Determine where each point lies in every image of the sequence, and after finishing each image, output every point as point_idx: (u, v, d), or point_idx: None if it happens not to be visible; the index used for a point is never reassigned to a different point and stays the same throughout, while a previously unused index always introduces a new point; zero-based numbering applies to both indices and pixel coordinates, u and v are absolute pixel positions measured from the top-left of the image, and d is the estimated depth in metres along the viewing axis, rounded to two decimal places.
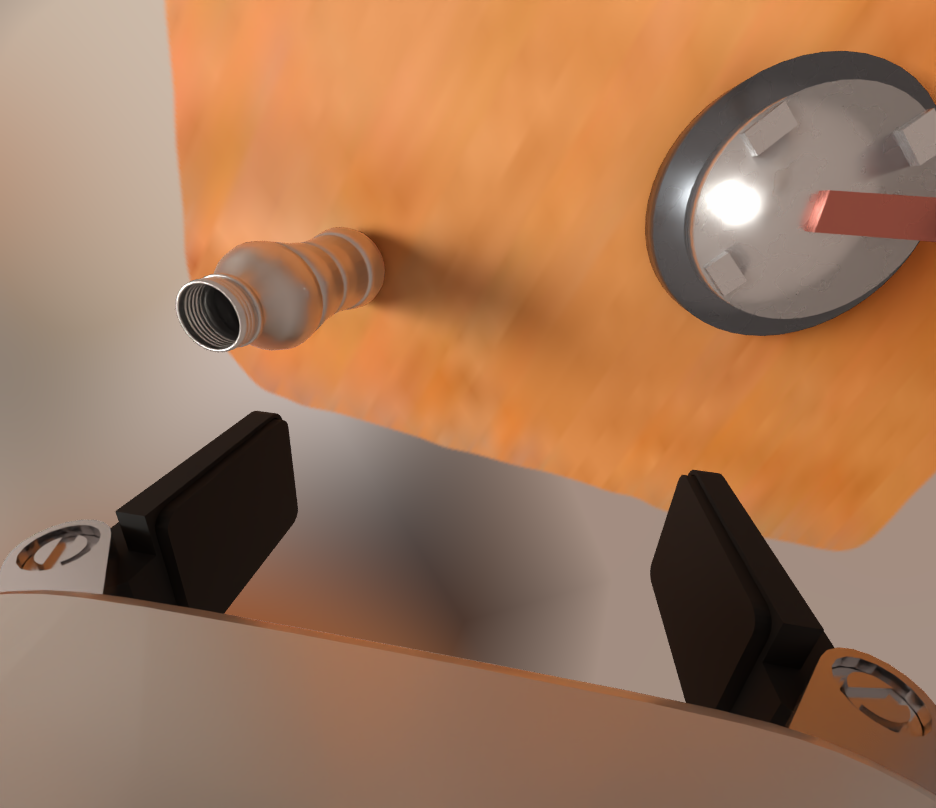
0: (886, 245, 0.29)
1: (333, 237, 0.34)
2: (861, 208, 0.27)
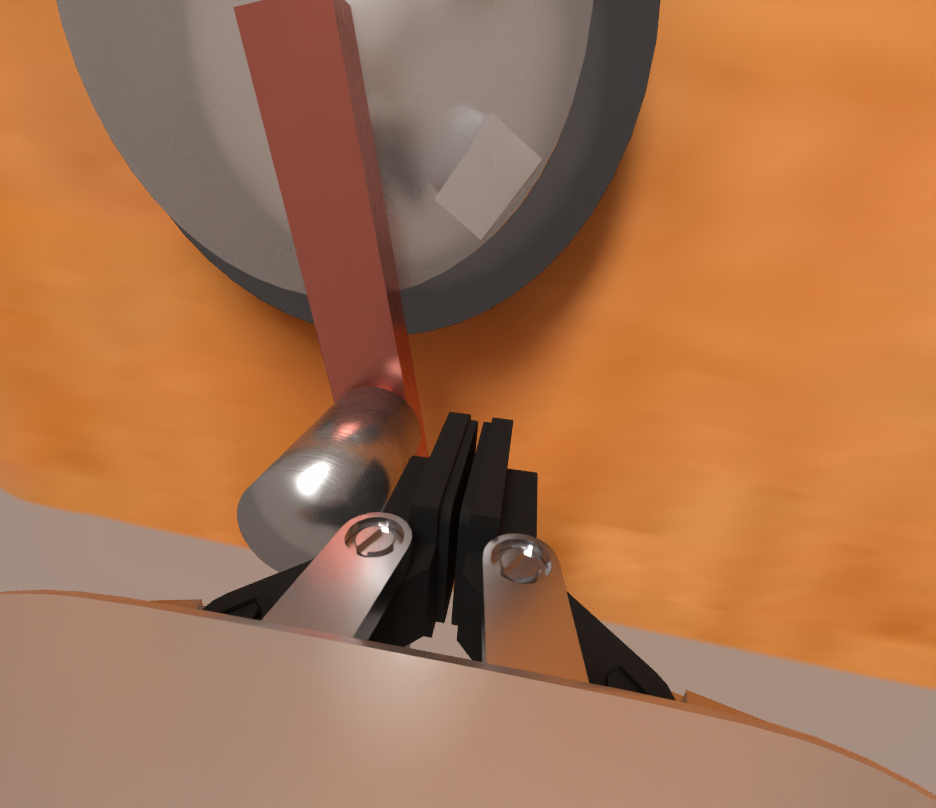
0: None
1: None
2: (317, 104, 0.11)
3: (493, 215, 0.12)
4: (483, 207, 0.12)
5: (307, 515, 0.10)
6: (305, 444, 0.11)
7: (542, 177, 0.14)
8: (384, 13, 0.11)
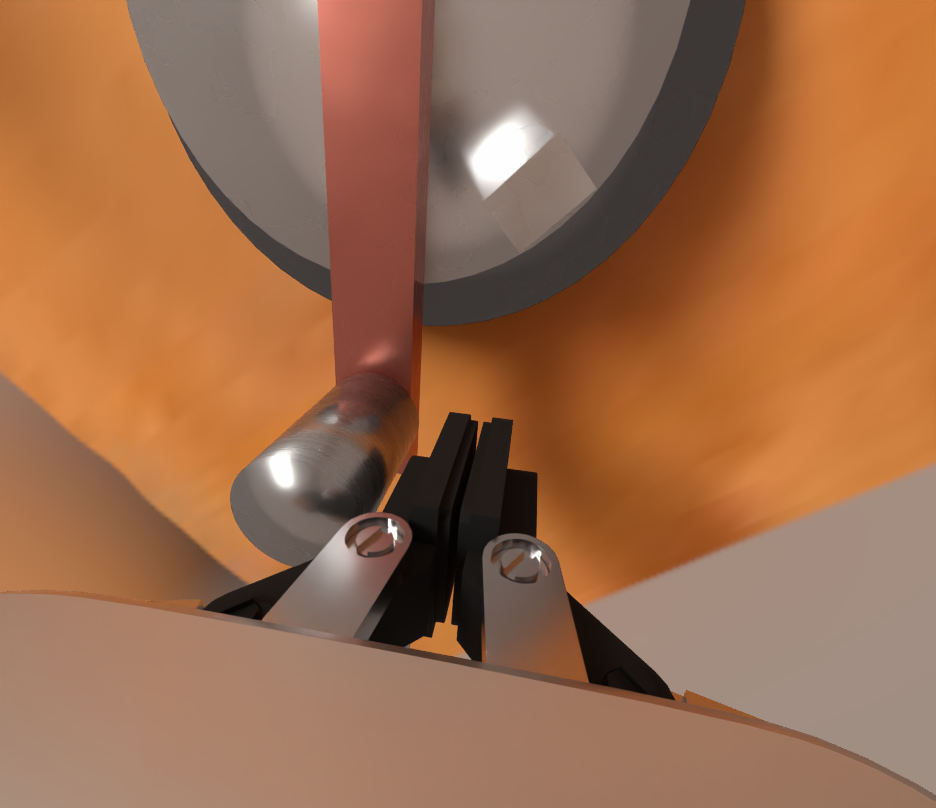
0: None
1: None
2: (383, 80, 0.10)
3: (536, 232, 0.12)
4: (528, 222, 0.12)
5: (307, 502, 0.09)
6: (311, 428, 0.10)
7: None
8: (468, 3, 0.10)
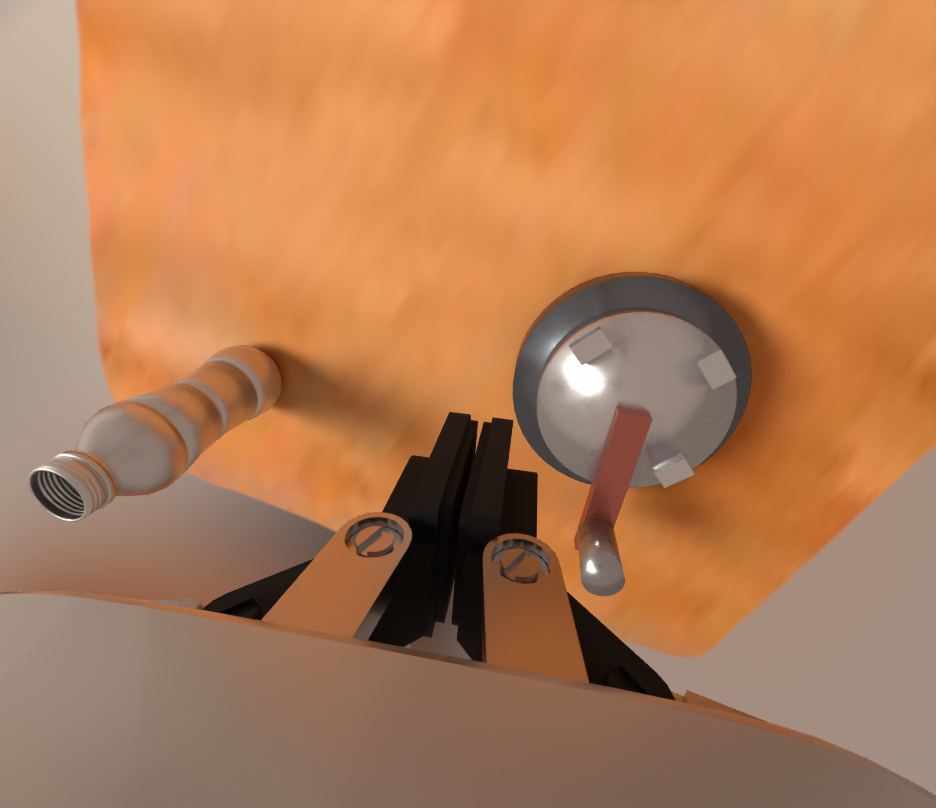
0: (592, 462, 0.35)
1: (223, 366, 0.37)
2: (631, 442, 0.33)
3: (671, 483, 0.34)
4: (669, 480, 0.34)
5: (609, 576, 0.32)
6: (603, 551, 0.33)
7: None
8: (659, 417, 0.33)
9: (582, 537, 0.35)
